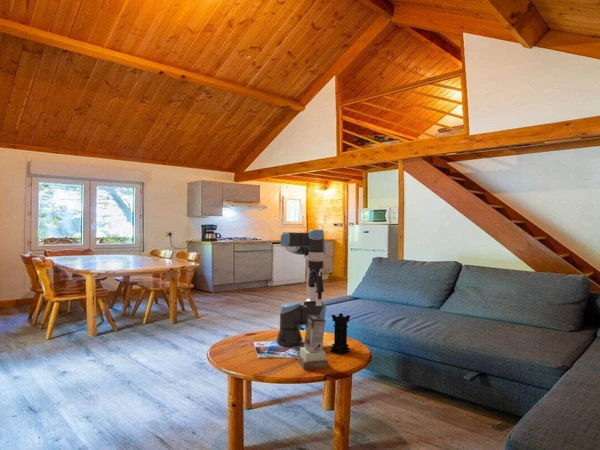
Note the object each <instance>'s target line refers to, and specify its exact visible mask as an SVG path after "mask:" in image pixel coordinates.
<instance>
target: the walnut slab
mask: <svg viewBox="0 0 600 450" xmlns="http://www.w3.org/2000/svg"><path fill="white" fill-rule="evenodd" d="M297 363H298V364H299V366H300V367H301V368H302V370H303V371H306V370H307V371H308V370H319V369H321V370H323V369H328V367H329V366H328V365H329V362H328V360H327V359H326V358H325V360H320V361H309V362H306V361H305V360H304V359H303V358H302V357H301V356H300V354H297Z"/></svg>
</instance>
